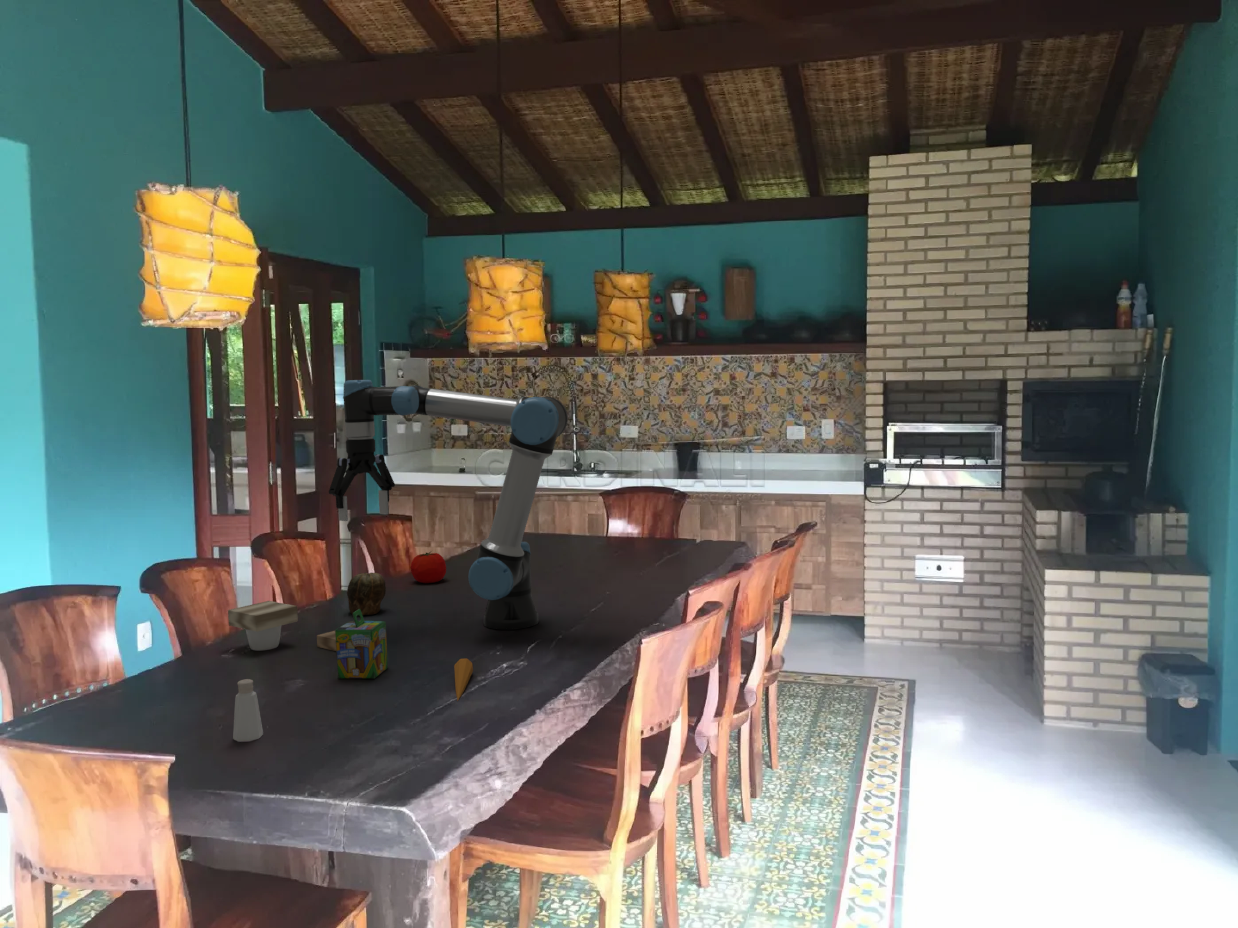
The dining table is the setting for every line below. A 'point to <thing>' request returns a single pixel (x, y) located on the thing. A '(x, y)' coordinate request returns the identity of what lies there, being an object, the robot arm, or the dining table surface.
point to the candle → (264, 638)
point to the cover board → (262, 615)
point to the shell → (366, 593)
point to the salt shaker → (246, 713)
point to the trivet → (327, 641)
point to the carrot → (462, 675)
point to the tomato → (428, 567)
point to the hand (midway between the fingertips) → (364, 517)
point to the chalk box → (361, 648)
